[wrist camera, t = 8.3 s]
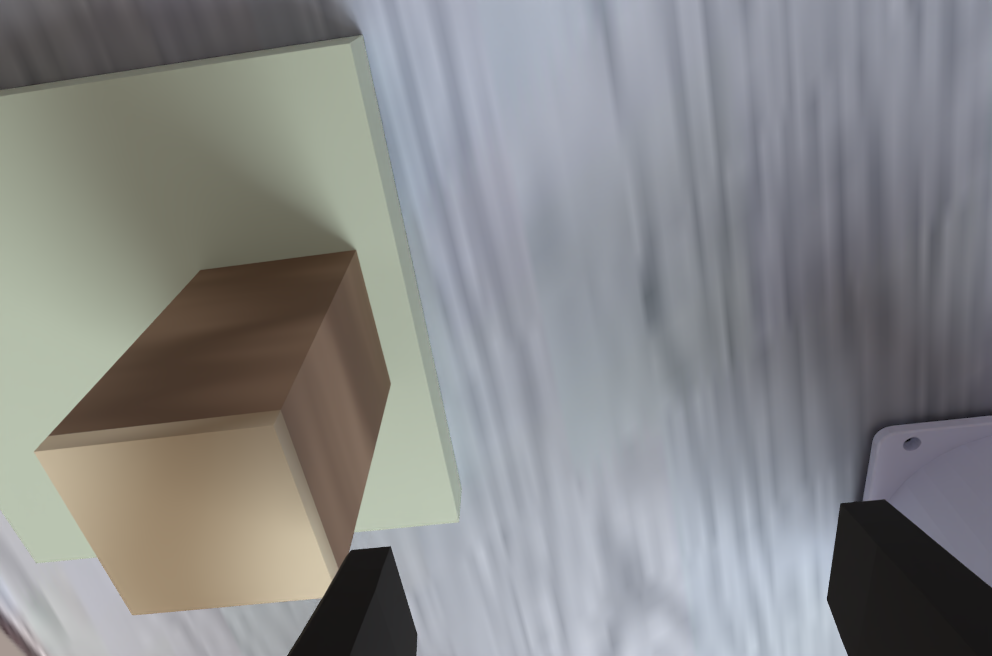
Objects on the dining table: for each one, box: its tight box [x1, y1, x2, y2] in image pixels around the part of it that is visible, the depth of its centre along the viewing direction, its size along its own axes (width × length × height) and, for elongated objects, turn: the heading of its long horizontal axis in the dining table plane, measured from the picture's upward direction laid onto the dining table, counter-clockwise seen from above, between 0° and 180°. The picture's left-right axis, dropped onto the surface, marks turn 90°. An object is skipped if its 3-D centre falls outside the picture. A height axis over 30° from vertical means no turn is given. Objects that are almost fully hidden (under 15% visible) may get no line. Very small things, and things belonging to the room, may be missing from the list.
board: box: [0, 35, 461, 563], centre depth 19 cm, size 14×14×2 cm
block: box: [34, 250, 391, 615], centre depth 15 cm, size 4×4×7 cm
